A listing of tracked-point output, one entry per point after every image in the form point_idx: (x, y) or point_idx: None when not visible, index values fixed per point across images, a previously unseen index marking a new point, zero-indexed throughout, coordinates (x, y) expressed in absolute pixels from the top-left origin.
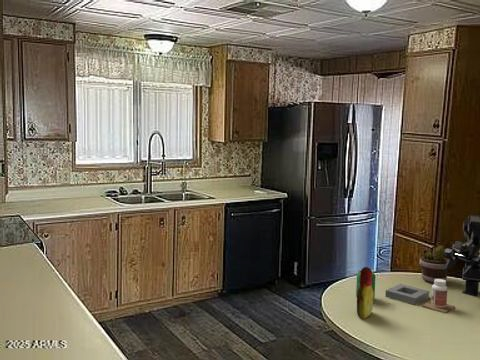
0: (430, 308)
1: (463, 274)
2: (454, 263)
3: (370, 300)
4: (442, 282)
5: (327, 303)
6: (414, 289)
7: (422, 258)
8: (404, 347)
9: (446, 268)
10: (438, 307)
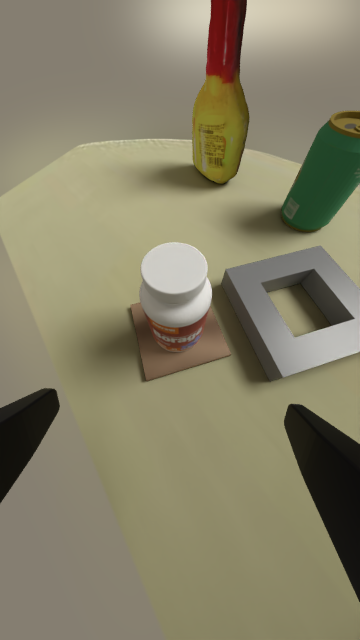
0: None
1: (33, 396)
2: None
3: (197, 126)
4: (145, 255)
5: (288, 161)
6: (315, 333)
7: None
8: (85, 158)
9: (302, 420)
10: None
